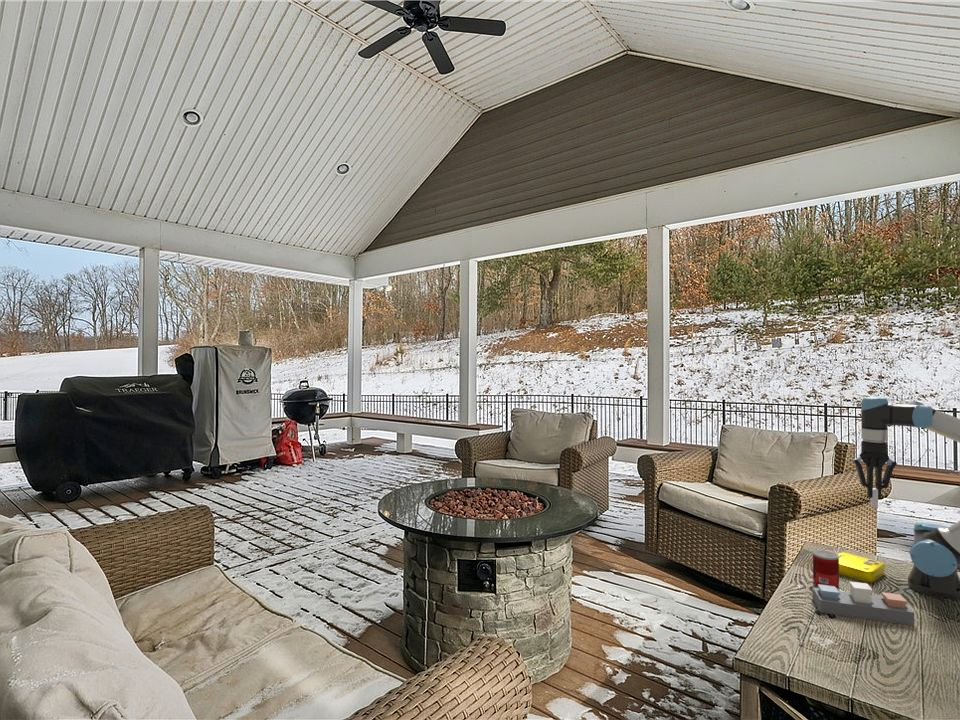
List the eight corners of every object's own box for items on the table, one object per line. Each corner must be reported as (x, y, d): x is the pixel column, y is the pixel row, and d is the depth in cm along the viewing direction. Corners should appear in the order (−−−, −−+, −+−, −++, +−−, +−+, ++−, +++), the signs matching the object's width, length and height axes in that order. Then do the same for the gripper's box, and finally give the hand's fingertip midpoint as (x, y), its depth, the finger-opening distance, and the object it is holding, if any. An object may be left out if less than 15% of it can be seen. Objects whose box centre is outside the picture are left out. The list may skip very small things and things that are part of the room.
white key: (867, 598, 174) (867, 583, 174) (872, 605, 169) (872, 590, 169) (849, 596, 175) (849, 581, 175) (854, 603, 171) (854, 587, 171)
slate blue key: (835, 601, 177) (835, 586, 177) (839, 608, 172) (839, 592, 172) (817, 599, 178) (817, 584, 178) (821, 605, 174) (821, 590, 174)
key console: (900, 610, 173) (900, 598, 173) (914, 625, 163) (914, 612, 163) (812, 599, 181) (812, 587, 181) (820, 612, 172) (820, 600, 172)
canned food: (844, 588, 189) (844, 558, 189) (821, 588, 189) (821, 558, 189) (830, 579, 196) (830, 550, 196) (808, 579, 197) (808, 550, 196)
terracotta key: (900, 609, 171) (900, 594, 171) (906, 617, 166) (906, 601, 166) (881, 607, 172) (881, 592, 172) (887, 614, 168) (887, 598, 168)
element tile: (841, 561, 214) (841, 550, 214) (886, 574, 202) (886, 561, 202) (825, 571, 205) (825, 558, 205) (871, 584, 193) (871, 571, 193)
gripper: (892, 440, 189) (892, 505, 189) (849, 438, 194) (849, 502, 194) (900, 443, 182) (900, 511, 182) (856, 441, 187) (856, 508, 187)
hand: (874, 506), depth 188 cm, fingers closed
